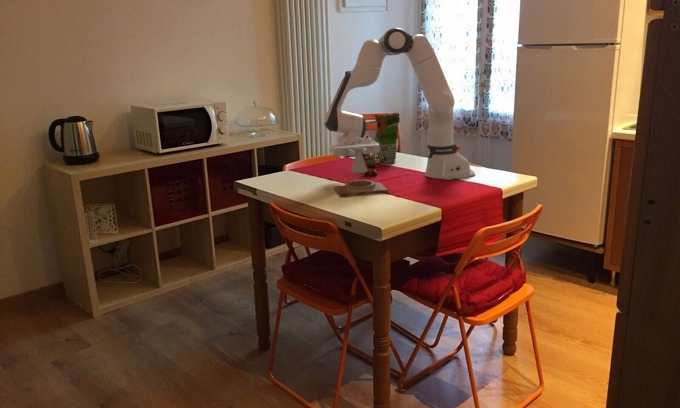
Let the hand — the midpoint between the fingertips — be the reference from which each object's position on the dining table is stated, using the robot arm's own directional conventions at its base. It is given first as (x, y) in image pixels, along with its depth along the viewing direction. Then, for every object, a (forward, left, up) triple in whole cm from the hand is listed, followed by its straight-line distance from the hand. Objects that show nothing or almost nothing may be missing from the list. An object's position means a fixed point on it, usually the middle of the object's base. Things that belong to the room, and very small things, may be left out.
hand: (359, 152), depth 239 cm
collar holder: (0, -1, -17) cm, 17 cm away
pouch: (-26, -50, -17) cm, 59 cm away
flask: (0, -1, -8) cm, 8 cm away
